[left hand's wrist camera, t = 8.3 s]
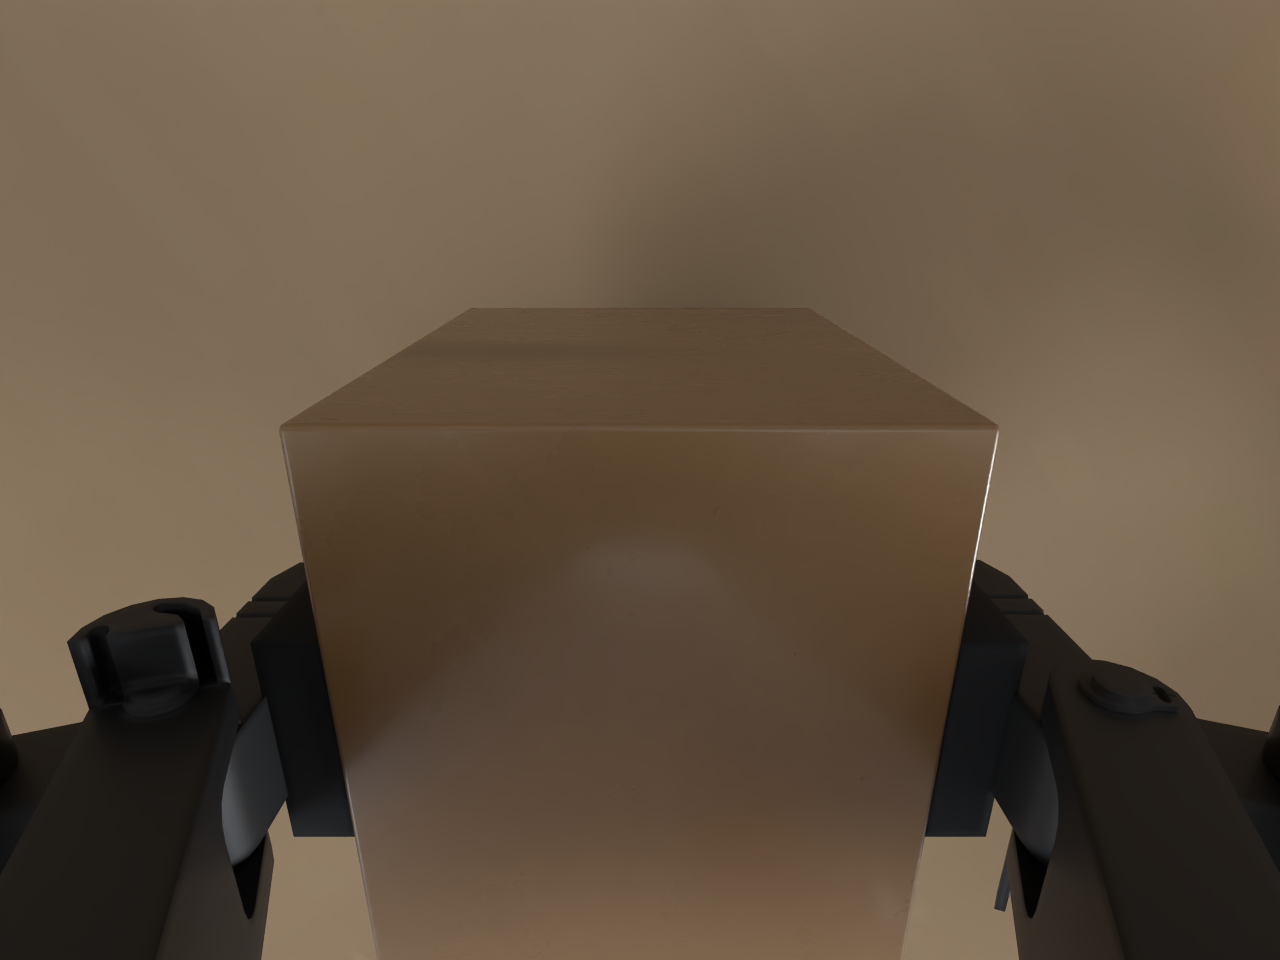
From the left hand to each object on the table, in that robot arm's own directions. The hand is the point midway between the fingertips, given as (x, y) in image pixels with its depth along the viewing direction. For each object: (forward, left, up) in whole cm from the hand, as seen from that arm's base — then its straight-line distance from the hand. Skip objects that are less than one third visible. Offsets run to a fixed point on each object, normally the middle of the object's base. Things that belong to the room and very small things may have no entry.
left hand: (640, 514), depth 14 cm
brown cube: (0, 0, -2) cm, 2 cm away
